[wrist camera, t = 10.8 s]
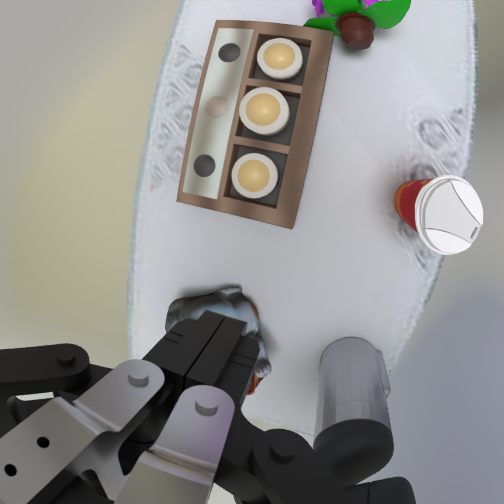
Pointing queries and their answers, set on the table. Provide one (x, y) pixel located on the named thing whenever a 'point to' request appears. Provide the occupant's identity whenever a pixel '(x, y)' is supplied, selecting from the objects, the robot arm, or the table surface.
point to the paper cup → (441, 212)
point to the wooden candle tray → (242, 138)
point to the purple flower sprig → (358, 19)
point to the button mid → (264, 111)
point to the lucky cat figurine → (229, 305)
